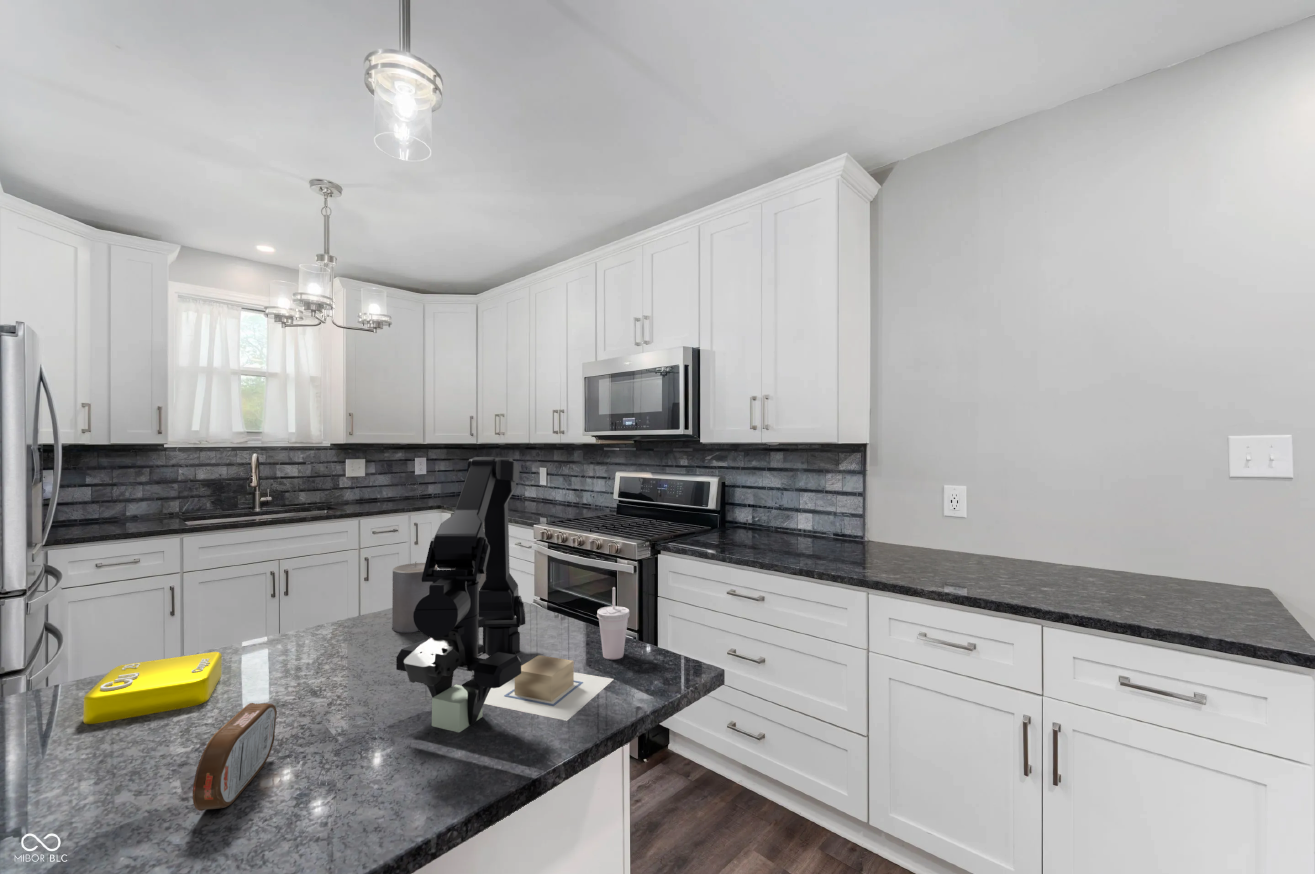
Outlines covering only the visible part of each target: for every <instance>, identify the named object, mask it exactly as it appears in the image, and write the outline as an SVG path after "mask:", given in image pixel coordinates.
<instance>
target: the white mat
mask: <svg viewBox="0 0 1315 874" xmlns="http://www.w3.org/2000/svg"><path fill="white" fill-rule="evenodd" d="M613 681H614V678H610V677H604V676H599V675H598V676H597V675H591V674H585V673H580V672H575V671H574V684H573V685H572V686H571V687H569V688H568V689H567V690H566V691H564V692H563V693H562V694H561V695H559V696H558V697H557V698H555V699H554V700H553V701H552V702H551V701H546V700H540V699H535V698H530V697H525V696H520V695H515V678H513V679H512V680H510V681H509V682H507V683H506V684H504V685H502V686H501V687H499V688H491V689H490V691H489V693H488V695H487V697H486V700H485V702H484V704H483V705H488V706H492V707H496V708H497V707H498V708H501V709H507V710H512V711H516V712H522V713H526V714H531V715H536V716H540V717H546V718H550V719H555V720H559V721H565V722H568V721H569V720H570V719H572V717H574V716H575V714H577V713H578V712H579V711H580V710H581V709H583V707H585V705H587V704H589V702H590V701H592V700H593V698H595V697H596V696H597V695H598V694H599V693H601V691H602V690H604V689H605V688H607V686H608V685H609V684H611V683H612V682H613Z"/></svg>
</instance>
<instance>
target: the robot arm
mask: <svg viewBox="0 0 1315 874" xmlns="http://www.w3.org/2000/svg"><path fill="white" fill-rule="evenodd" d="M466 467H467V468H466V469H467V474H466V477H465V480H464V483H463V485H462V489H461V492H460V494H459V498H458V500H457V503H456V506H455V509H454V511H453V514H452V515H451V516H450V517H448V518H446V519H445V520H443V521H442V522H441V523H440V525H439V526H438V529H437V531H436V533H435V535H434V537H432V538H431V540H430V543H429V548H428V551H427V553H426V554H427V555H426V559H425V562H424V563H425V567H424V571H423V575H422V582H433V583H432V584H430V586H429V594H427V595H426V596H425V597H423V598H422V599H421V600H420V601H419V602H418V604H417V605H416V608H415V610H414V613H413V618H414V623H415V625H416V627H417V629H418V630H419V631H418V632H420V633H421V634H422V635H424V636H426V637H428V639H422V640H420V641H417V642H415V643H413V644H410V645H408V646H405V647H403V648H401V649H400V651H399V652H398V654H397V655H396V659H395V660H396V661H395V662H396V665H395V668H396V671H401V672H406V674H407V677H408V681H409V682H410V683H413V684H414V683H418V684H422V685H425V686H426V687H427V688H428V691H429V693H430V696H431V699H432V698H433V697H435V696H437V695H438V694H440V693H442V692H444V691H445V690H447V689H449V688H451V687H453V680H454V672H455V671H456V670H461V671H465V672H466V671H467V672H471V675H470V676H471V678H470V679H469V680H467V681H466V682H464V683H462V684H461V686H462V687H463V688H464V689H465V690H466V691H467V693H468V722H469V725H470V726H472V725H475V724H476V722H477V721H478V720H477V718H478V716H479V713H480V711H481V709H482V710H483V706H484V705H485V704H484V702H485V700H486V697H487V695H488V693H489V691H490V689H491V688H499V687H501V686H502V685H504V684H506V683H507V682H509V681H510V680H512V679H513V678H515V677H517V676H518V675H520V674H521V666H522V660H521V658H520V656H518V655H517V653H520V652H521V651H520V650H521V649H520V648H521V638H520V637H521V632H520V631H519V628H520V627H521V626H524V625H526V610H525V603H524V602H523V599H522V596H521V595H520V594H519V585H518V583H517V581H516V580H515V578H514V577H513V576H512V574H511V573H510V542H509V541H510V539H509V538H510V535H509V529H510V528H509V500H510V498H511V497H512V495H513V493H514V492H515V489H516V488H517V482H518V481H519V478H520V466H519V463H517V462H516V461H514V460H513V458H512V457H495V456H493V457H477V456H475V457H472V458H469V459H468V462H467V466H466ZM436 565H437V570H434V569H435V566H436ZM484 574H485V580H484V582H483V583H482V585H481V586H480V580H481V577H482V575H484ZM480 628H482V644H481V643H479V632H480V631H479V629H480ZM484 654H486V655H487V656H488V657H486V658H482V657H481V656H483V655H484ZM476 720H477V721H476Z"/></svg>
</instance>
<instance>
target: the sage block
mask: <svg viewBox="0 0 1315 874" xmlns="http://www.w3.org/2000/svg"><path fill="white" fill-rule="evenodd" d="M481 718H483V708H482V709H481V711H480V713H479V716H478V718H477V720H476V722H477V721H478V720H480V719H481ZM470 726H471V725H469V722H468V693H467V691H466V690H465V689H464V688H463V687H462V684H461V685H460V684H455V685H452V687H451V688H449V689H447V690H445V691H444V692H442V693H440V694H438V695H437V696H435V697H433V698H432V697H431V727H434V728H439V729H442V730H447V731H452V732H456V733H461V732H462V731H464V730H466V729H467V728H469V727H470Z"/></svg>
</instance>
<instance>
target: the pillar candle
mask: <svg viewBox="0 0 1315 874" xmlns="http://www.w3.org/2000/svg"><path fill="white" fill-rule="evenodd" d="M425 563H426V562H417V561H415V562H414V563H413V562H412V563H406V564H400V565H397V566H395V567H393V568H392V591H391V592H392V604H391V605H392V607H391V608H392V609H391V611H392V615H391V616H392V617H391V618H392V620H391V621H392V623H391V625H392V631H393V632H397V633H405V634H407V633H408V634H409V633H416V632H420V631H419V630H418V629H417V627H416V625H415V623H414V618H413V613H414V610H415V608H416V605H417V604H418V602H419V601H420V600H421V599H422V598H423V597H425V596H426V595H427V594H429V586H430V584H432V583H433V582H422V575H423V571H424V567H425ZM434 570H438V567H437V565H436V566H435V569H434Z"/></svg>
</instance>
